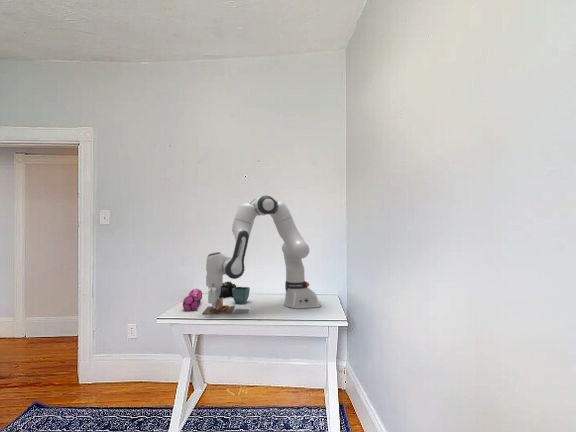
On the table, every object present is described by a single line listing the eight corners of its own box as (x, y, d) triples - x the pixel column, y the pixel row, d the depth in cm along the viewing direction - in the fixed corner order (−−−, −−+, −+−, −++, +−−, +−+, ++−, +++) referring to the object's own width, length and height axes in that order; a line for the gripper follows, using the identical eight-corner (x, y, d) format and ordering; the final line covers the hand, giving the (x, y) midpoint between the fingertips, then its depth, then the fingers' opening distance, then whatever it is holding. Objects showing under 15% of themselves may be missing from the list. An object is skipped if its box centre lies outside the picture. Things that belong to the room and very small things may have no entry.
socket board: (234, 306, 206) (234, 303, 206) (232, 313, 190) (232, 310, 190) (207, 307, 205) (207, 304, 205) (202, 314, 189) (202, 311, 189)
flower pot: (245, 304, 209) (245, 289, 210) (231, 304, 211) (231, 289, 211) (250, 301, 218) (250, 287, 218) (236, 300, 220) (236, 286, 220)
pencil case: (200, 311, 196) (200, 293, 196) (182, 312, 194) (182, 294, 194) (203, 302, 217) (203, 286, 217) (187, 303, 215) (187, 287, 215)
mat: (249, 309, 198) (249, 308, 198) (248, 313, 190) (248, 312, 190) (235, 309, 198) (235, 309, 198) (233, 313, 190) (233, 312, 190)
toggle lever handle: (213, 308, 198) (213, 298, 199) (222, 308, 199) (222, 298, 200) (212, 313, 189) (212, 302, 189) (222, 313, 190) (222, 302, 190)
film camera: (208, 298, 228) (208, 283, 228) (217, 294, 240) (217, 280, 240) (233, 300, 223) (233, 284, 223) (241, 295, 235) (241, 281, 235)
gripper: (217, 285, 180) (217, 312, 180) (222, 279, 200) (222, 303, 200) (205, 286, 179) (205, 312, 179) (211, 279, 200) (211, 303, 200)
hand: (214, 307), depth 190 cm, fingers closed
